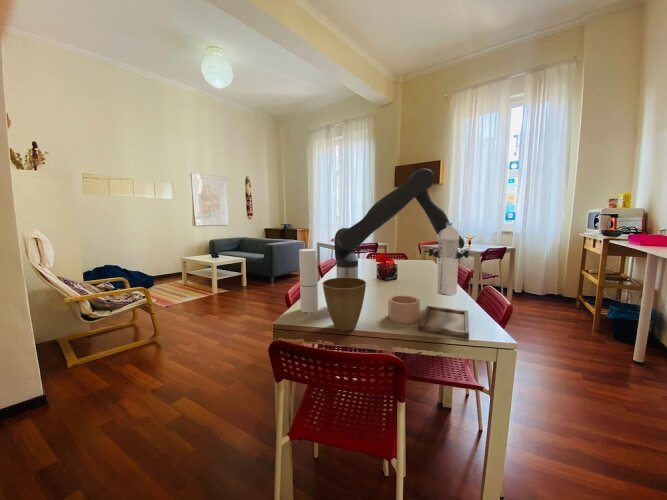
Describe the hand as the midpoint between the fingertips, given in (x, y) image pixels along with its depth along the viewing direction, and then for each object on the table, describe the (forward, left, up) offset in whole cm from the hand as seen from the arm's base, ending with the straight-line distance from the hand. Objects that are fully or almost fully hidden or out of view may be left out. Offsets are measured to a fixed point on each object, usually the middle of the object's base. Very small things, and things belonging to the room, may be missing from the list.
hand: (447, 255), depth 93 cm
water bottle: (0, +2, -14) cm, 14 cm away
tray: (0, +2, -25) cm, 25 cm away
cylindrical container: (-52, -6, -25) cm, 58 cm away
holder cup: (-15, +1, -25) cm, 29 cm away
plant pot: (-32, -16, -25) cm, 43 cm away
